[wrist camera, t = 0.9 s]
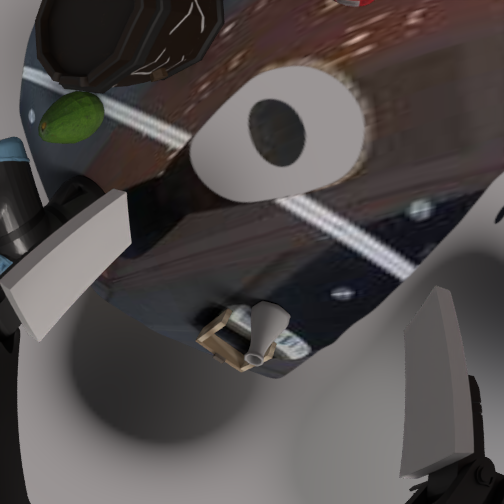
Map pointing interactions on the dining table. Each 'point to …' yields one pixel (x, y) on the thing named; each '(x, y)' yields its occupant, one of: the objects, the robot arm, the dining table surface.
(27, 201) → the robot arm
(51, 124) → the avocado
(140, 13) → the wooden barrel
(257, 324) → the flask
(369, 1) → the soda can
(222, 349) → the u-shaped wooden frame
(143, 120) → the dining table surface
